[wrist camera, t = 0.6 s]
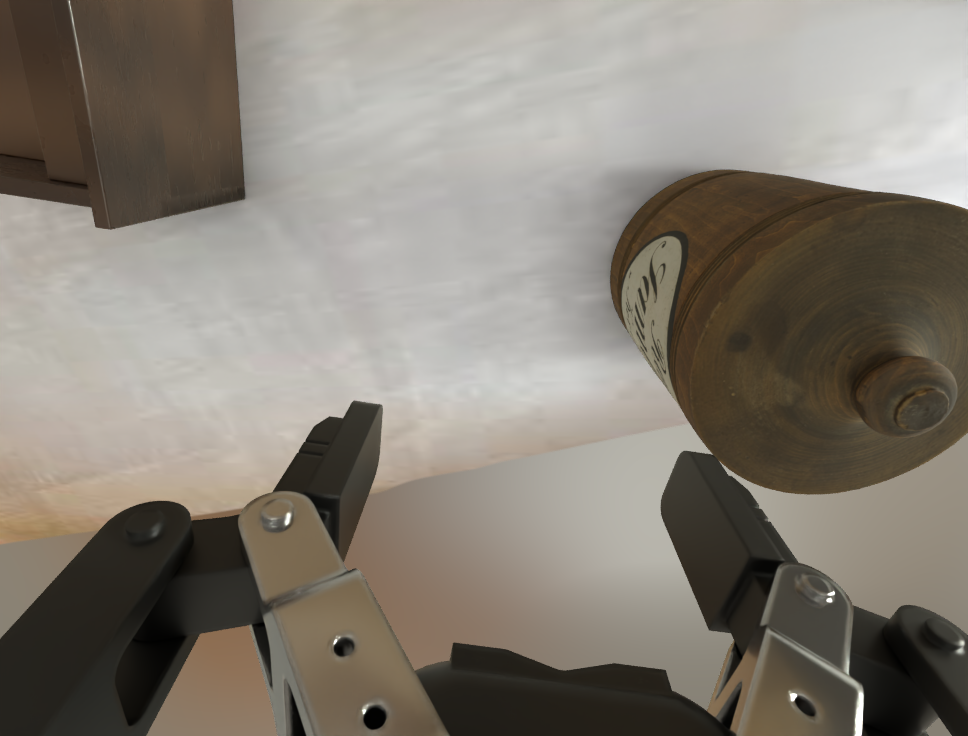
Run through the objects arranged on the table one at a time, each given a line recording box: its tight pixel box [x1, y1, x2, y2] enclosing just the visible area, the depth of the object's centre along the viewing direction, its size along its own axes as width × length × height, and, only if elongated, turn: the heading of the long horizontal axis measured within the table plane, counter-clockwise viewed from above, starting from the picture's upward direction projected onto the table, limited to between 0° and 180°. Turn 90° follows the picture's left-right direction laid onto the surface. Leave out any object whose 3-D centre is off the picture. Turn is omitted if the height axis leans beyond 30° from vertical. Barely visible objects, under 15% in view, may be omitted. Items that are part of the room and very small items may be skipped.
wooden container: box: [610, 170, 968, 494], centre depth 28 cm, size 15×15×22 cm
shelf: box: [0, 0, 245, 230], centre depth 26 cm, size 17×16×14 cm
